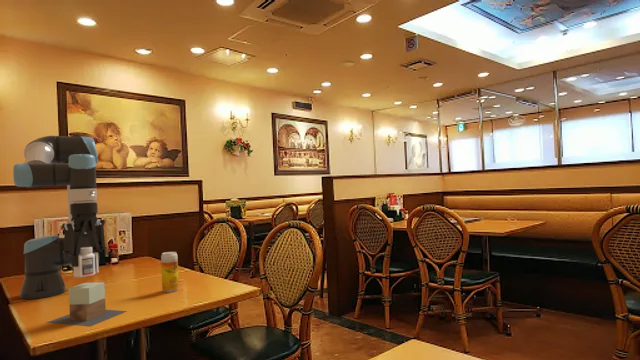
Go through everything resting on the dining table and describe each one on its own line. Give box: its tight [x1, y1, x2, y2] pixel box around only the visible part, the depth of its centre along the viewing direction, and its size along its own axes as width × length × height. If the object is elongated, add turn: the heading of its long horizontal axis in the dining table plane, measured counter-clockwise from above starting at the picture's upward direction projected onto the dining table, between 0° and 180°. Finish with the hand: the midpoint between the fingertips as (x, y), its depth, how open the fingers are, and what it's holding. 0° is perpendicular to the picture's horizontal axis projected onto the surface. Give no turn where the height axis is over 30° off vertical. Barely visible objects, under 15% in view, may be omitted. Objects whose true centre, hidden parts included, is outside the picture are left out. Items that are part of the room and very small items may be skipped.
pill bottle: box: [79, 247, 97, 278], centre depth 125 cm, size 5×5×9 cm
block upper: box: [68, 282, 106, 304], centre depth 125 cm, size 7×7×5 cm
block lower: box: [68, 297, 107, 321], centre depth 125 cm, size 7×7×5 cm
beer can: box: [160, 251, 180, 293], centre depth 155 cm, size 6×6×15 cm
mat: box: [46, 309, 128, 327], centre depth 125 cm, size 18×14×1 cm
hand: (86, 274), depth 125 cm, fingers closed on pill bottle, 5 cm apart
